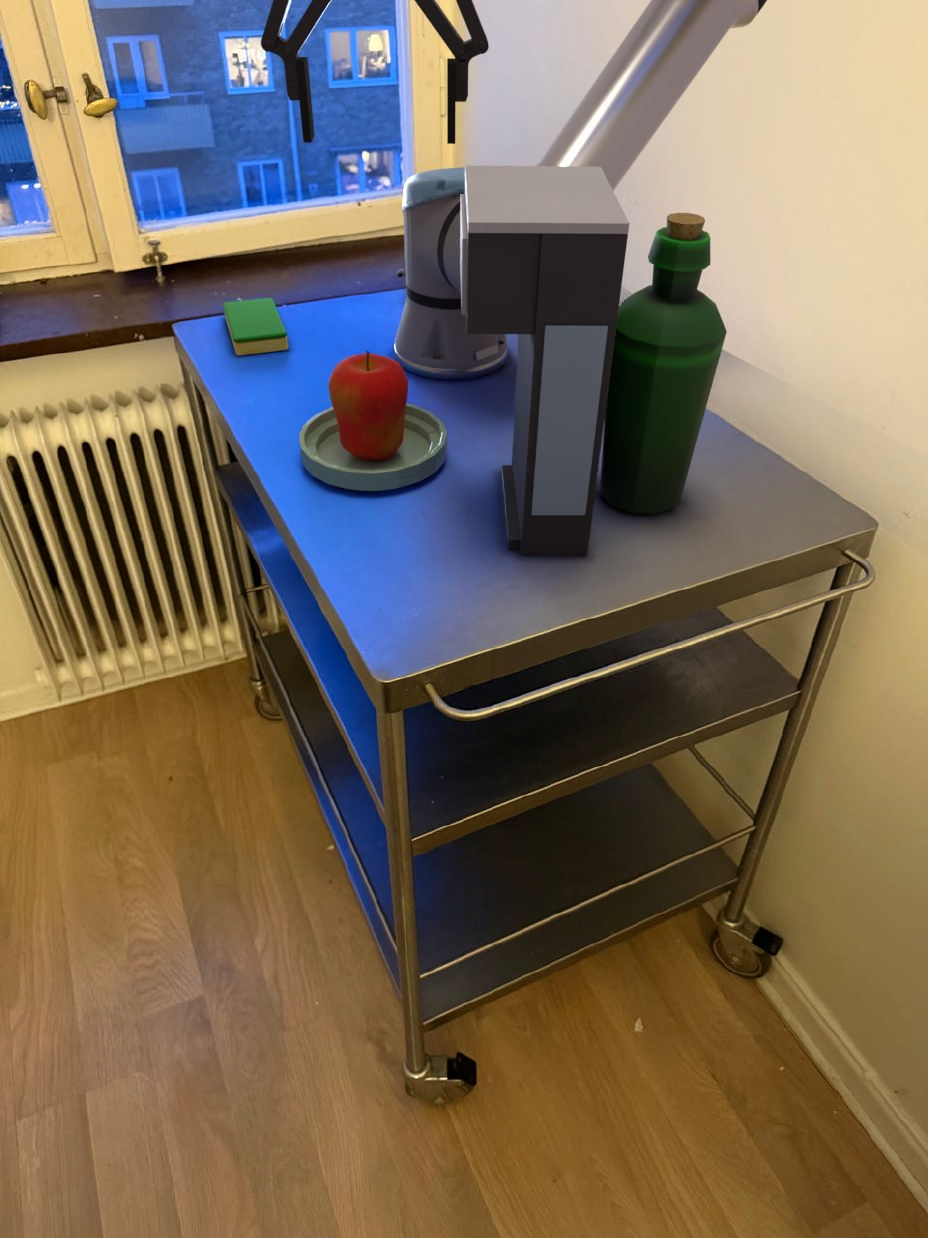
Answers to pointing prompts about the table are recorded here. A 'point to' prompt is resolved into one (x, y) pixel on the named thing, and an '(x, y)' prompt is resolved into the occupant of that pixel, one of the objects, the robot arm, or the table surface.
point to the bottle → (661, 373)
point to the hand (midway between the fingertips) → (380, 140)
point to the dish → (347, 471)
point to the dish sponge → (255, 326)
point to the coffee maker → (547, 333)
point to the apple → (369, 405)
